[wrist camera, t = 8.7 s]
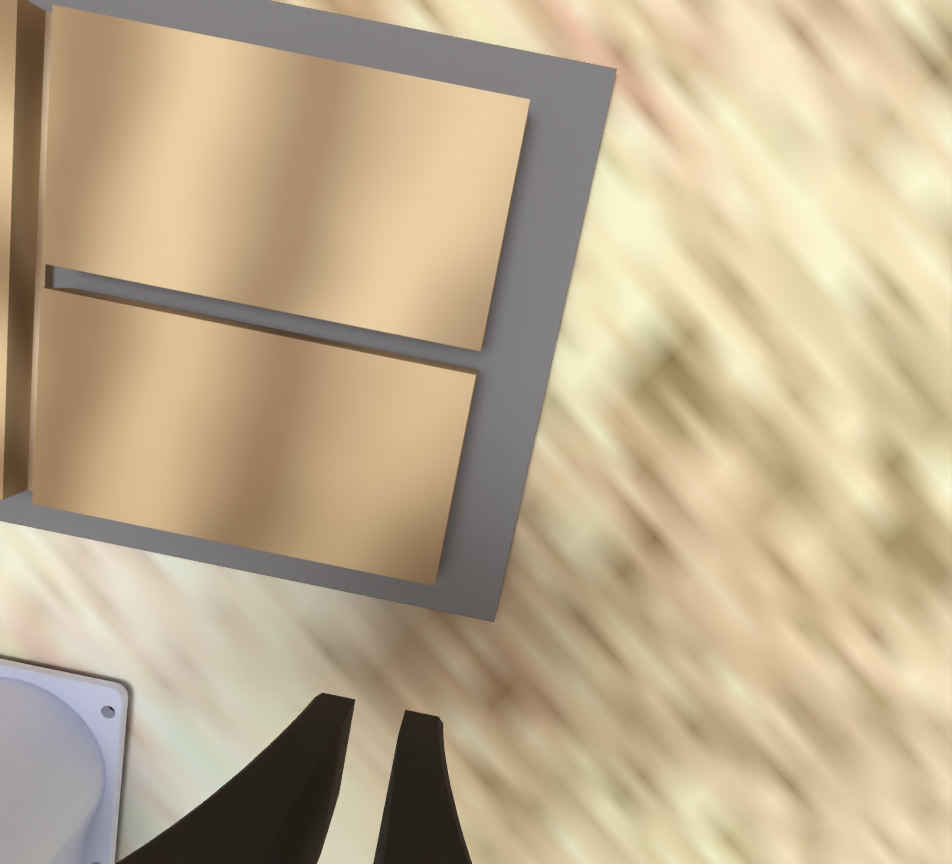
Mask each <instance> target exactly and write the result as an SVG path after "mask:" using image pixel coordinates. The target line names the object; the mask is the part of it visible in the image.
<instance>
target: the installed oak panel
mask: <svg viewBox="0 0 952 864" xmlns="http://www.w3.org/2000/svg"><path fill="white" fill-rule="evenodd" d="M51 30H52V13H51V12H46V11H44V10H43V9H41V8H39V7H38V6H36V5H34V4H33V3H31V2H30V1H28V0H0V499H1V500H4V499H6V498H9V497H11V496H14V495H16V494H18V493H21V492H23V491H26V490H30V491H33V473H34V449H35V424H36V399H37V374H38V350H39V325H40V300H41V288H53V265H48V264H43V263H42V253H43V228H44V203H45V179H46V154H47V129H48V104H49V80H50V55H51Z"/></svg>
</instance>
